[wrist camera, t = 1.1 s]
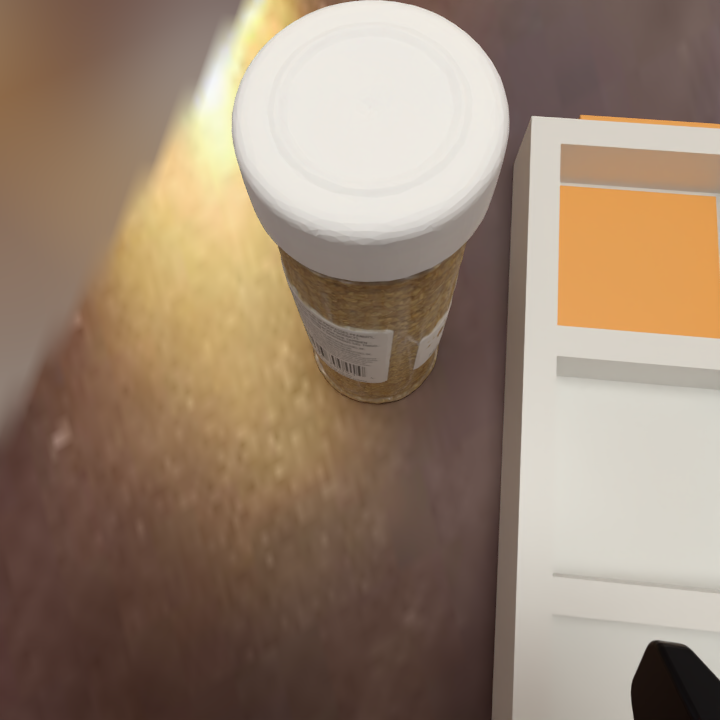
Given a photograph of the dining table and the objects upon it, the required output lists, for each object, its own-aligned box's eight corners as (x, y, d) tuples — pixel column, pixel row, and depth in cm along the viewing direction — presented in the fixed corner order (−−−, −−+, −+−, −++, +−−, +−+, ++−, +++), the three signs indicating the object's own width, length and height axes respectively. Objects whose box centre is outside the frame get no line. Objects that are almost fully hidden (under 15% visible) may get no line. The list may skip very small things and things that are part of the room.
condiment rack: (781, 904, 18) (857, 975, 15) (485, 867, 19) (505, 929, 16) (736, 170, 24) (785, 122, 21) (514, 155, 25) (532, 106, 22)
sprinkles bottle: (461, 362, 23) (576, 140, 10) (354, 430, 22) (321, 292, 9) (392, 263, 24) (410, -57, 11) (288, 325, 23) (174, 68, 10)
